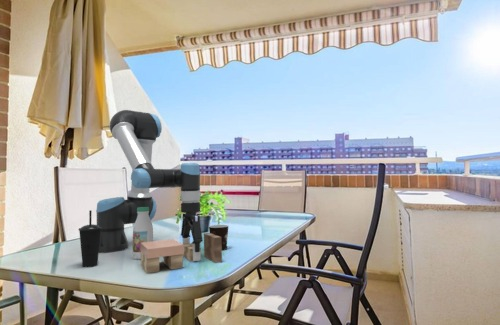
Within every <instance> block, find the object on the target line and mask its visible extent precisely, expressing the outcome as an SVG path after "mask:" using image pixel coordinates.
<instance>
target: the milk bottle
mask: <svg viewBox="0 0 500 325" xmlns="http://www.w3.org/2000/svg"><path fill="white" fill-rule="evenodd" d="M137 213H138V216H137V219H136V222H135V223H133V224H134V225H133V226H132V227H133V228H132V258H133V259H134V260H141V251H140V243H141V242H151V241H154V228H153V222H152V220H150V218H149V214H148V213H149V207H138V208H137Z"/></svg>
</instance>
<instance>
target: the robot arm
mask: <svg viewBox="0 0 500 325" xmlns="http://www.w3.org/2000/svg"><path fill="white" fill-rule="evenodd" d="M109 131H110V133H111V135H112V137H113V138H114V139H116V140H117V143H118V144H119V146H120V148H121V150H122V151H123V154H124V155H125V157H126V160H127V161H128V164H129V165H130V168H131V170H132V171H131V174H130V181H131V183H130V184H131V186H130V187H131V188H130V192H129V193H128V194H127V197H126V199H125V197H124V196H117V197H111V198H110V197H109V198H105V199H100V200H99V201H98V202H97V203H96V210H95V211H96V225H98V226H100V227H102V229H101V234H100V244H99V254H100V253H114V252H121V251H124V250H127V249H128V248H129V241H128V238H127V235H126V232H125V225H130V224H135V222H136V219H137V216H138V213H137V208H138V207H149V213H148V214H149V218H150V220H151V221H152V220H153V219H154V217H155V215H156V212H157V202H156V200H155V198H153V195H152V194H151V193H150V189H157V188H159V189H160V188H162V189H163V188H169V189H171V188H173V189H174V188H175V189H176V188H180V202H181V204H180V212H181V213H182V221H181V223H182V224H181V231H180V236H181V237H182V244H190V243H192V244H193V261H192V262H199V261H201V260H202V258H201V259H200V248H201V243H202V242H204V239H203V234H202V228H201V222H200V221H201V220H200V219H201V217H200V215H197V213H199V212H201V202H200V200H201V195H202V193H201V171H200V164H199V163H198V162H183V163H181V164H180V168H177V169H176V168H175V169H174V168H173V169H172V168H164V169H163V168H155V167H154V165H153V164H152V158H153V157H152V154H153V145H154V143H156V141H157V138H159V137H160V136H161V133H162V122H161V120H160V118H159V116H158V115H156V114H153V113H149V112H143V111H135V110H129V109H123V110H119V111H118V112H116V113H115V114H114V115H113V116H112V117H111V119H110V121H109ZM191 237H192V242H191V240H190V239H191Z"/></svg>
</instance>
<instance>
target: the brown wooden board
mask: <svg viewBox="0 0 500 325" xmlns="http://www.w3.org/2000/svg"><path fill="white" fill-rule="evenodd" d="M203 251H204V252H203V254H204V258H206V259H208V260H209V261H212V262H213V263H215V264H218V263H222V261H223V255H222V254H223V250H222V241H221V237H220V236H217V235H214V234H211V233H210V232H208V233H207V232H206V233H203Z"/></svg>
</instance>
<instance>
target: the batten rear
mask: <svg viewBox="0 0 500 325" xmlns="http://www.w3.org/2000/svg"><path fill="white" fill-rule="evenodd" d="M140 266H141V269H143V270H144V272H145V273H146V274H152V273H158V272H160V257H157V258H149V259H147V257H146V256H145V255H144V254H143V253H142V252H141V259H140Z"/></svg>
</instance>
